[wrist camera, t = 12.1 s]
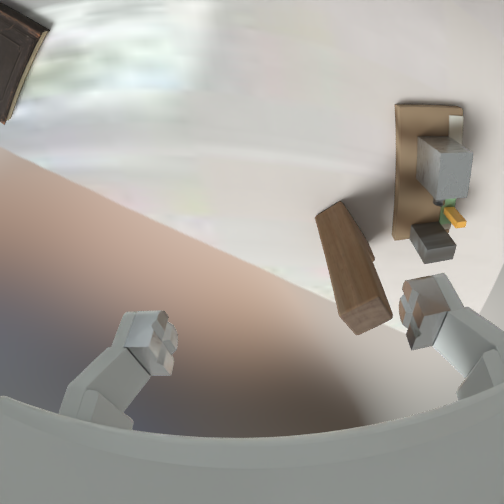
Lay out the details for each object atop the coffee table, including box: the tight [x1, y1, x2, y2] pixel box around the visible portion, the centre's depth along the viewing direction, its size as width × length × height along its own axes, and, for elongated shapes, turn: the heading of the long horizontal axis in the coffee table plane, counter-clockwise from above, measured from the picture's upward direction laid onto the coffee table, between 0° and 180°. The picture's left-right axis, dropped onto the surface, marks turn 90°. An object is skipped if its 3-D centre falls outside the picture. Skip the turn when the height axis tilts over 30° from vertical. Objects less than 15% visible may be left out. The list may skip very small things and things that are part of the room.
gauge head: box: [416, 136, 473, 206], centre depth 31 cm, size 8×8×6 cm
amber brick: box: [444, 207, 467, 228], centre depth 35 cm, size 1×2×4 cm, turn 100°
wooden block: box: [315, 202, 393, 335], centre depth 35 cm, size 9×4×18 cm, turn 39°
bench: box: [392, 104, 463, 264], centre depth 33 cm, size 20×10×8 cm, turn 11°
